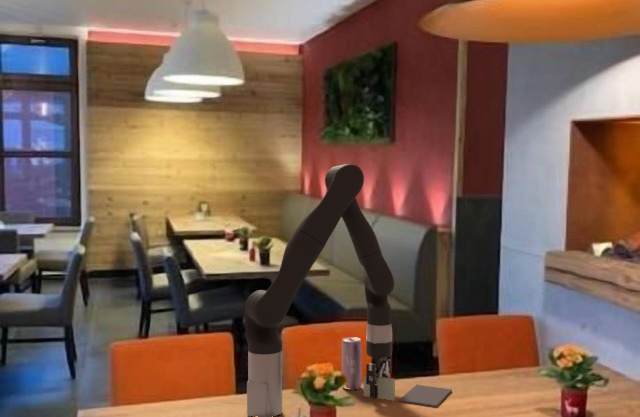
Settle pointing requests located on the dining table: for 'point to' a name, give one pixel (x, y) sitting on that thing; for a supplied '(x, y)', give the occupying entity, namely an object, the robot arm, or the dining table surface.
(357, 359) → the beverage can
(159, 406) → the dining table surface
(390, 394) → the board
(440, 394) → the mat
